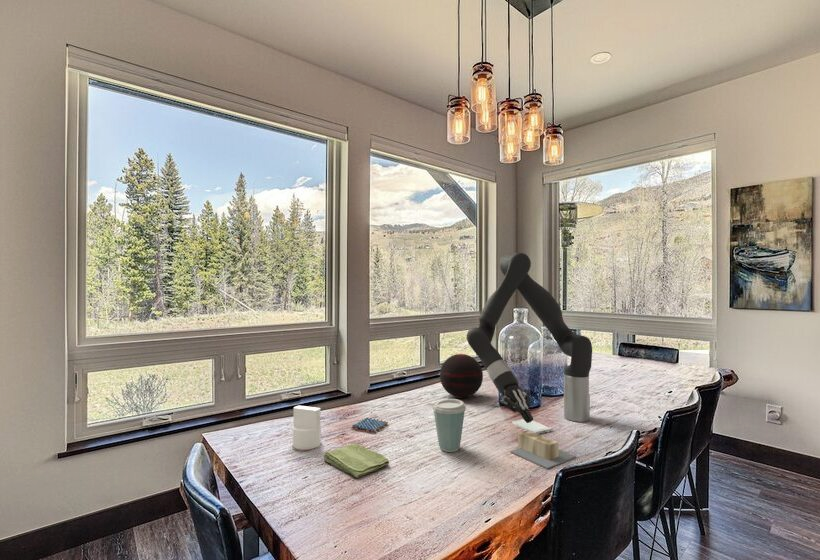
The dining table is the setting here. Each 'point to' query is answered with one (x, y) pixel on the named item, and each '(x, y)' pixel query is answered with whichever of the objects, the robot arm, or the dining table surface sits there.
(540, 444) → the maple block
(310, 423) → the white lidded canister
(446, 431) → the disposable coffee cup
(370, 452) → the washcloth
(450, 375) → the decorative orb
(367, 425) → the woven mat
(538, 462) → the felt mat
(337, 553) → the dining table surface
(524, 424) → the hard drive
